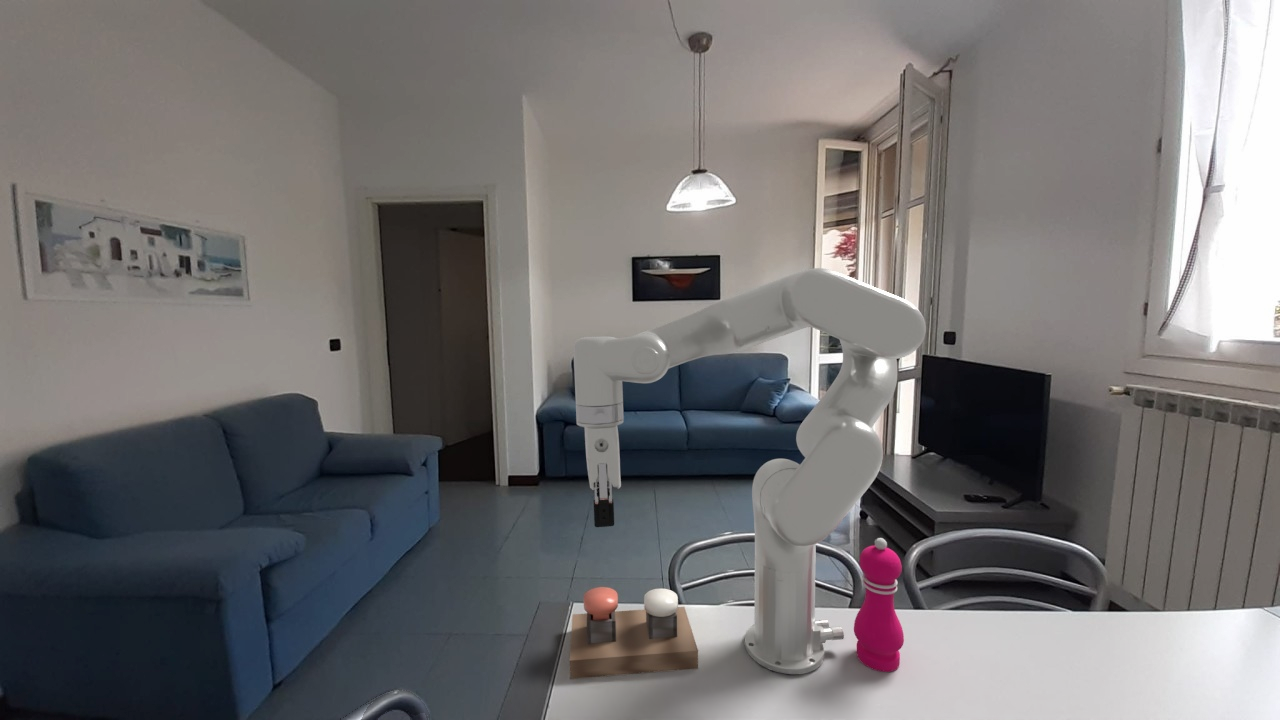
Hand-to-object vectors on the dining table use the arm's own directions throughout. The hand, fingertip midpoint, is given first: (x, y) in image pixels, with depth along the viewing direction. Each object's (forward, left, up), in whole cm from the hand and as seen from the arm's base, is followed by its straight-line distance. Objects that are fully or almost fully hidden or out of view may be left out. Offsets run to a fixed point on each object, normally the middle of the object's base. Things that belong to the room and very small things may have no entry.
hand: (604, 524), depth 82 cm
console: (-4, 0, -22) cm, 22 cm away
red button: (+1, 0, -17) cm, 17 cm away
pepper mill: (-43, +7, -22) cm, 49 cm away
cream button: (-9, 0, -18) cm, 20 cm away
